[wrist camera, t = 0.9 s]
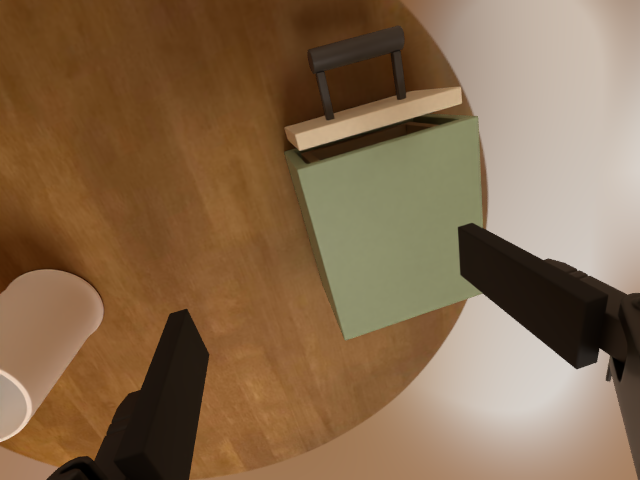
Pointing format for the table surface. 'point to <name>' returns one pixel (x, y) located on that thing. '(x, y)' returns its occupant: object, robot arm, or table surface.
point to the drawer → (367, 114)
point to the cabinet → (392, 221)
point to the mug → (40, 338)
